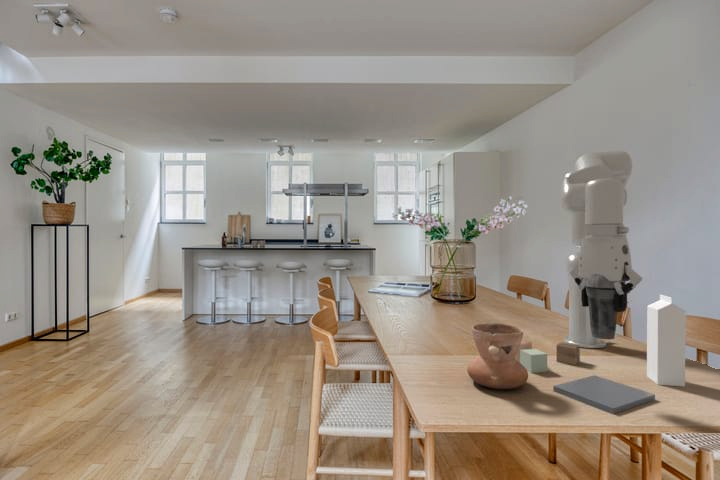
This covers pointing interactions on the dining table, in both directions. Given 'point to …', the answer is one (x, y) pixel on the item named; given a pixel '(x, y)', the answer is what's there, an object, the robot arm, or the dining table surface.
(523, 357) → the sage block
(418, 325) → the dining table surface
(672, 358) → the milk
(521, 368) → the ceramic jug
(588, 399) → the slate board
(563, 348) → the walnut block
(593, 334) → the beverage cup
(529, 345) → the peach rounded capsule
